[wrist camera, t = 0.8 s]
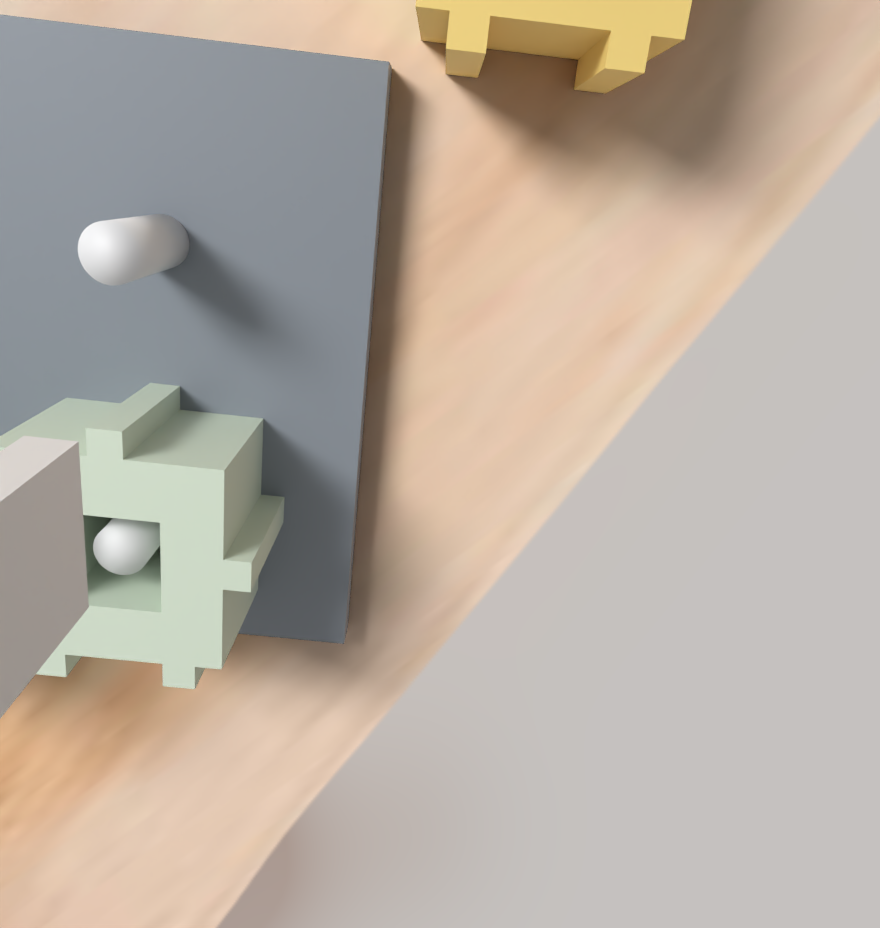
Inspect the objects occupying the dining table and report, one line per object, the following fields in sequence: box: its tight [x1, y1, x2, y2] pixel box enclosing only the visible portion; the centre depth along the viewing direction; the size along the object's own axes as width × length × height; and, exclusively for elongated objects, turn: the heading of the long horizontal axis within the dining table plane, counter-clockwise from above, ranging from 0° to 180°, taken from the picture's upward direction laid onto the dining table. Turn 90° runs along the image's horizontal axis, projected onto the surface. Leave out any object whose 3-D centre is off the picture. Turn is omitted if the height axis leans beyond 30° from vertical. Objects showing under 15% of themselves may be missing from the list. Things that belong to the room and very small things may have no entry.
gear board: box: [0, 15, 392, 689], centre depth 29 cm, size 24×16×8 cm, turn 174°
